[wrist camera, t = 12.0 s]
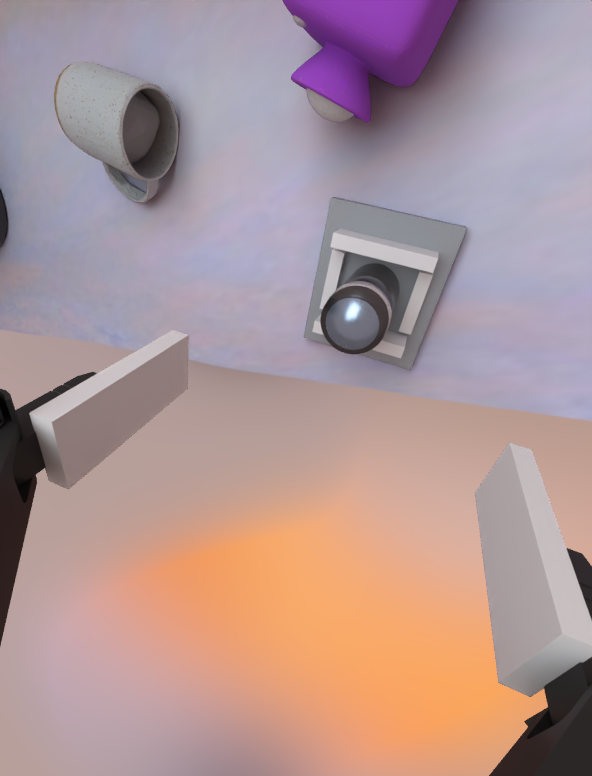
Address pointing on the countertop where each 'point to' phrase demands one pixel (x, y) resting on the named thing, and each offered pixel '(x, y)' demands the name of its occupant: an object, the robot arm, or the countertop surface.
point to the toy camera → (364, 48)
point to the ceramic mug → (118, 124)
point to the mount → (399, 253)
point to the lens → (361, 309)
